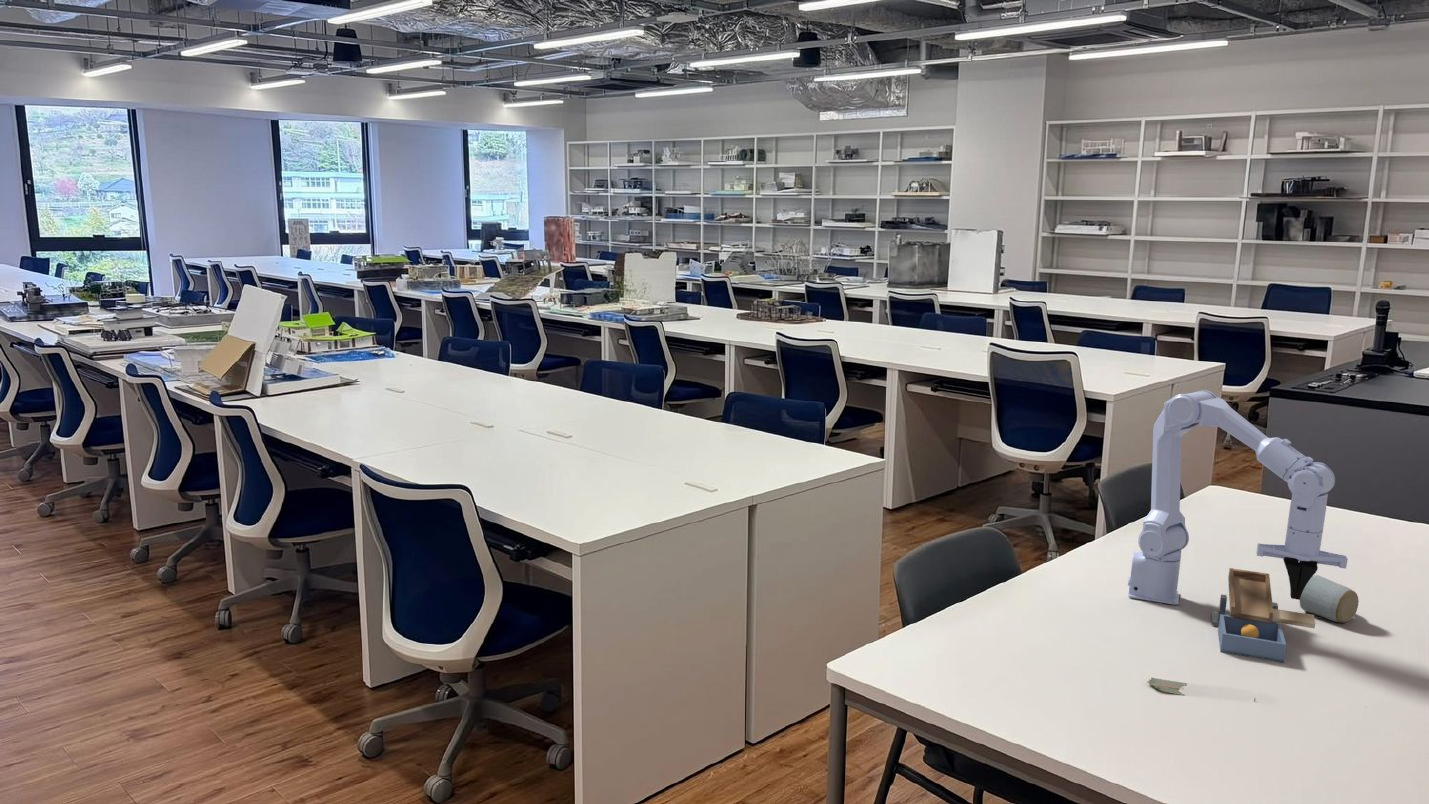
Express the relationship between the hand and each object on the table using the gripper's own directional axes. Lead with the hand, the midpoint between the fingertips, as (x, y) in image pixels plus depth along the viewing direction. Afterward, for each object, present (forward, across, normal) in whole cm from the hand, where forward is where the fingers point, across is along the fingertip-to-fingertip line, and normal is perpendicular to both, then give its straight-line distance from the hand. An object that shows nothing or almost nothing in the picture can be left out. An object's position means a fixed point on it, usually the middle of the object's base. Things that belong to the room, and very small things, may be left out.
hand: (1295, 597), depth 189 cm
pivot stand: (+8, -7, +3) cm, 11 cm away
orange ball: (+6, -7, -5) cm, 11 cm away
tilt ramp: (+5, -4, +4) cm, 8 cm away
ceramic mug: (+9, +9, +17) cm, 21 cm away
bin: (+8, -7, -7) cm, 13 cm away
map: (+9, -14, -31) cm, 35 cm away
